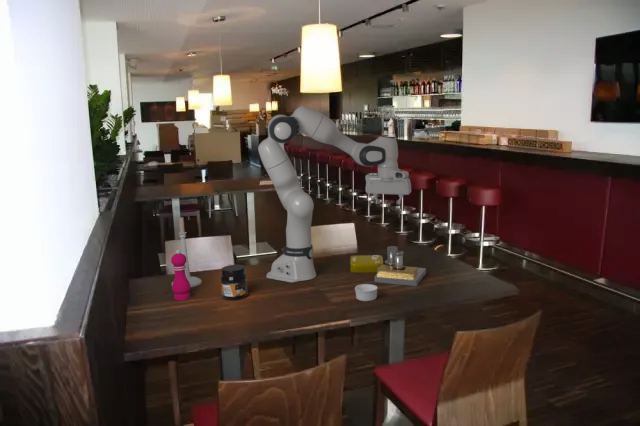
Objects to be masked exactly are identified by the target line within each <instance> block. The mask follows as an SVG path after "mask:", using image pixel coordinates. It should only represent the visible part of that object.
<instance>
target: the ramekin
mask: <svg viewBox="0 0 640 426" xmlns="http://www.w3.org/2000/svg"><path fill="white" fill-rule="evenodd" d="M354 291H355V298H356V299H357V300H359V301H362V302H371V301H374V300H376V299H377V297H378V286H377V285H376V284H370V283H362V284H358V285H356V286H355V287H354Z"/></svg>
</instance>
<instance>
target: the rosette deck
mask: <svg viewBox="0 0 640 426" xmlns="http://www.w3.org/2000/svg"><path fill="white" fill-rule="evenodd" d="M386 249H387V250H386V251H387V252H386V254H387V259H386V260H384V264H383V265H381V266H379V267H378V268H377V272H376V275H375V276H374V278H373V279H374V283H379V284H380V283H381V284H388V285H389V284H393V285H400V286H401V285H403V286H409V287H410V286H413V287H417V286H418V285H419V284H420V282H421V281H422V279H423V278H424V277H425V276H426V274H427V269H426V267H417V266H405V265H403V270H395V254H394V252H395V251H398V246H395V245H390V246H387V248H386Z"/></svg>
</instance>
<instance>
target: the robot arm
mask: <svg viewBox="0 0 640 426" xmlns="http://www.w3.org/2000/svg"><path fill="white" fill-rule="evenodd" d="M299 133H301V134H303V135H305V136H307V137H309V138H311V140H314V141H316V142H319V143H323V144H326V145H332V146H333V147H336V148H338V149H339V150H341V151H343V152H345V153H346V154H348V155H349V156H350V158H351V159H352V161H353V162H355V163H356V165H359V166H362V167H363V166H364V167H368V168H370V167H374V166H377V172H368V173H366V175H365V192H366V194H367V195H368V194H370V195H373V198H374V200H375V204H376V205H380V204H381V199H379V198H378V195H398V197H399V198H398V199H397V200H396V206H398V205H399V206H400V205H401V202H402V199H403V197H404V196H406V195H407V196H409V195H410V194H411V193H412V183H411V179H410V177H409V176H410V173H409V172H408V171H406V170H402V169H400V168H399V164H398V158H399V149H398V148H399V147H398V141H397V139H396V138H395V137H394V136H393V137H392V136H387V135H380V136H379V137H377V138H376V139H374V140H373V141H371V142H368V143H366V142H358V141H355V140H353V139H352V138H351V137H349V136H347V135H345V134H343V133H342V132H341V131H340V130H339V128H338V126H337V124H336V123H335V122H334V121H333V120H332V119H331V118H329V117H328V116H326V115H325V114H323V113H321V112H320V111H317V110H316V109H313V108H310V107H307V106H305V105H301V106H299V107H297V108H296V109H295V110H294V111H293V112H292V114H291V115H290V116H287V115H286V114H281V113H279V114H275V115H273V116H272V117H271V118H270V119H269V121H268V123H267V138H265V139H263V140H262V141H261V142H260V143H259V144H258V147H257V149H258V154H259V157H260V160H261V163H262V165H263V167H264V169H265V171H266V172H267V175H268V176H269V179H270V181H271V182H272V184H273V187H274V189H275V192H276V195H278V198H279V201H280V203H281V205H282V207H283V208H284V210H286V211H287V215H286V216H287V218H286V219H287V220H286V227H285V238H286V239H285V240H286V241H285V243H286V245H284V246H283V248H281V252H283V254H281V255H280V256H279V257H277V258H276V259H275V260H274V261H273V262H272V264H271V268H270V269H271V270H270V271H269V272H267V273H266V278H267V279H271V280H277V281H283V282H287V283H296V282H302V281H309V280H312V279H315V278H316V276H317V272H316V268H315V265H314V260H313V259H314V258H313V257H314V249H313V244H312V221H313V211H314V206H315V205H314V201H313V199H312V197H311V195H310V194H308V193H307V192H305V191H304V190H303V188H302V186H301V183H300V179H299V177H298V173H297V172H296V169H295V168H294V166H293V164H292V161H291V160H290V158H289V155H288V154H287V151H286V150H285V144H286V143H288V142H290V141H291V140H293V139H294V138H295V137H296V135H297V134H299Z"/></svg>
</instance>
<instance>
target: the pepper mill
mask: <svg viewBox="0 0 640 426" xmlns="http://www.w3.org/2000/svg"><path fill="white" fill-rule="evenodd" d="M186 261H187V260H186V256H185V255H184V254H181V249H176V250H175V254H173V255H171V259H170V262H171V264H172V265H173V266H172V269H173V271H174V279H173V281H172V282H173V284H172V283H171V290H172V292H173V293H174V294H173V298H174V300H175V301H185V300H189V298H191V293H190V289H191V287H190V283H189V281H188V279H187V278H186V275H185V269H186V265H185V263H186Z"/></svg>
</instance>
